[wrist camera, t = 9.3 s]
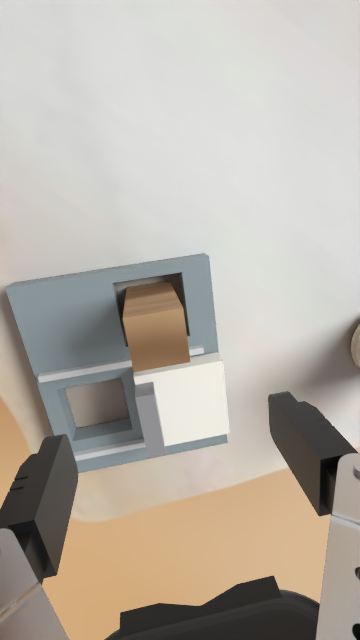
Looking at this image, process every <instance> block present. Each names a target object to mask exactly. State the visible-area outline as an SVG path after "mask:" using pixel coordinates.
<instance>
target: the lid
mask: <svg viewBox="0 0 360 640" xmlns="http://www.w3.org/2000/svg"><path fill="white" fill-rule="evenodd" d="M134 382H135V400H136V404H137V409H138V414H139V418H140V423H141V428H142V432H143V437H144V442H145V447H146V451H147V456H148V459H149V458H154V457H159V456H164V455H166V452H165V446H170V445H175V444H179V443H184V442H189V441H194V440H199V439H204V438H209V437H214V436H219V435H224V434H229V433H230V430H229V419H228V409H227V398H226V388H225V377H224V367H223V360H222V358H221V357H220V355H219V353H218V352H216V353H211V354H205V355H200V356H194V357H190V362H188V363H183V364H177V365H172V366H166V367H161V368H155V369H150V370H144V371H139V372H134Z"/></svg>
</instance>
